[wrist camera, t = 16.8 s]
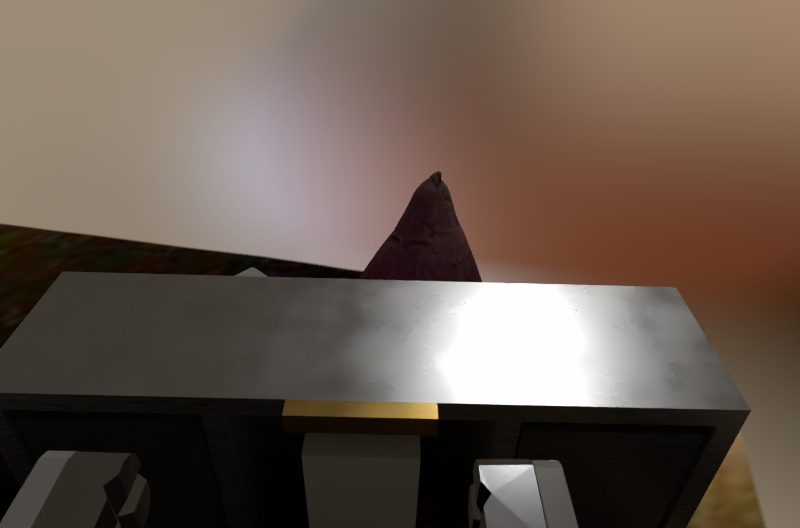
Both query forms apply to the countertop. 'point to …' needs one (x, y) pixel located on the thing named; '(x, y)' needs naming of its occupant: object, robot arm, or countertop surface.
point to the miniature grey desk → (370, 385)
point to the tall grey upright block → (361, 480)
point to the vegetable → (426, 242)
